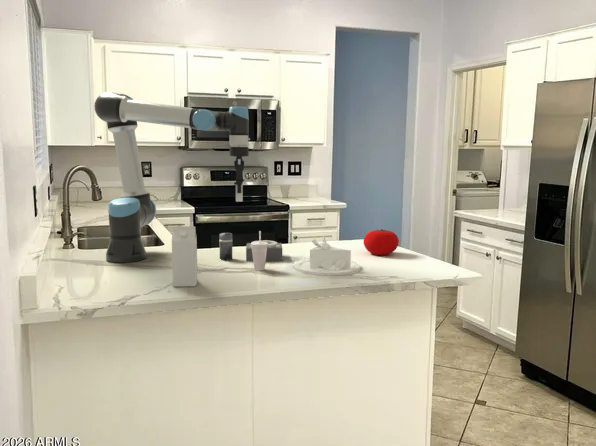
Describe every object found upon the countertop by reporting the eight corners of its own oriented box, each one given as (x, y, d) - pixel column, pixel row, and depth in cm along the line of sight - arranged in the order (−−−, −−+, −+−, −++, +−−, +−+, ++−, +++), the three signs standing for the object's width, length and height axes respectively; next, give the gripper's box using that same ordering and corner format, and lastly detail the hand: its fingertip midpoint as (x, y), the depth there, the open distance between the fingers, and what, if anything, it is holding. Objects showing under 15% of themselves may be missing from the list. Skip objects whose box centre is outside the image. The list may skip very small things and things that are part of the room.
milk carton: (175, 281, 184) (174, 224, 182) (197, 281, 185) (196, 224, 182) (172, 287, 177) (171, 228, 175) (195, 286, 178) (194, 228, 175)
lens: (218, 260, 217) (218, 234, 215) (219, 257, 222) (219, 232, 220) (232, 260, 217) (232, 234, 215) (233, 257, 222) (232, 232, 221)
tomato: (359, 255, 227) (360, 230, 226) (367, 249, 239) (368, 225, 238) (394, 258, 222) (395, 232, 221) (400, 252, 234) (401, 228, 232)
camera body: (246, 261, 215) (246, 245, 215) (246, 255, 226) (246, 240, 225) (282, 260, 216) (282, 245, 216) (281, 255, 227) (281, 240, 226)
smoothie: (270, 268, 204) (270, 230, 202) (264, 272, 198) (264, 233, 196) (254, 266, 206) (254, 229, 204) (247, 270, 200) (247, 232, 198)
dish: (282, 272, 199) (282, 241, 197) (307, 258, 222) (307, 231, 220) (348, 279, 190) (349, 246, 188) (367, 264, 213) (368, 235, 211)
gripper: (249, 147, 209) (249, 203, 212) (248, 146, 234) (248, 196, 237) (229, 146, 208) (229, 203, 212) (230, 145, 233) (230, 196, 236)
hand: (239, 199), depth 224 cm, fingers open, 13 cm apart
